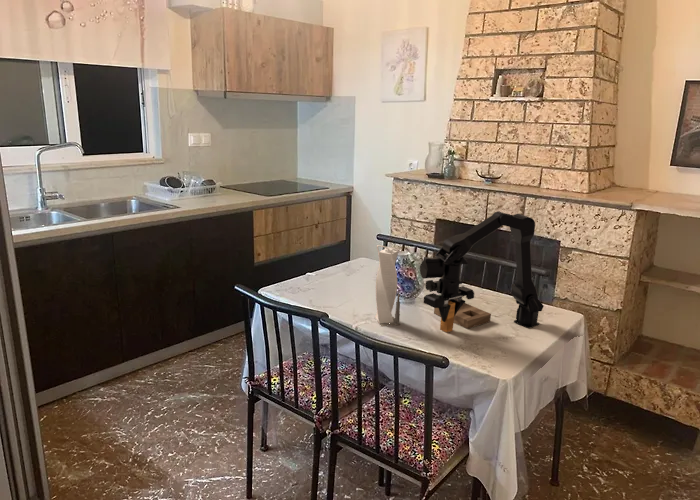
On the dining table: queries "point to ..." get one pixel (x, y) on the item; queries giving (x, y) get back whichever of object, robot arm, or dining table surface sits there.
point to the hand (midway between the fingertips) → (447, 320)
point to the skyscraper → (387, 287)
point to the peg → (448, 319)
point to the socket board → (468, 316)
